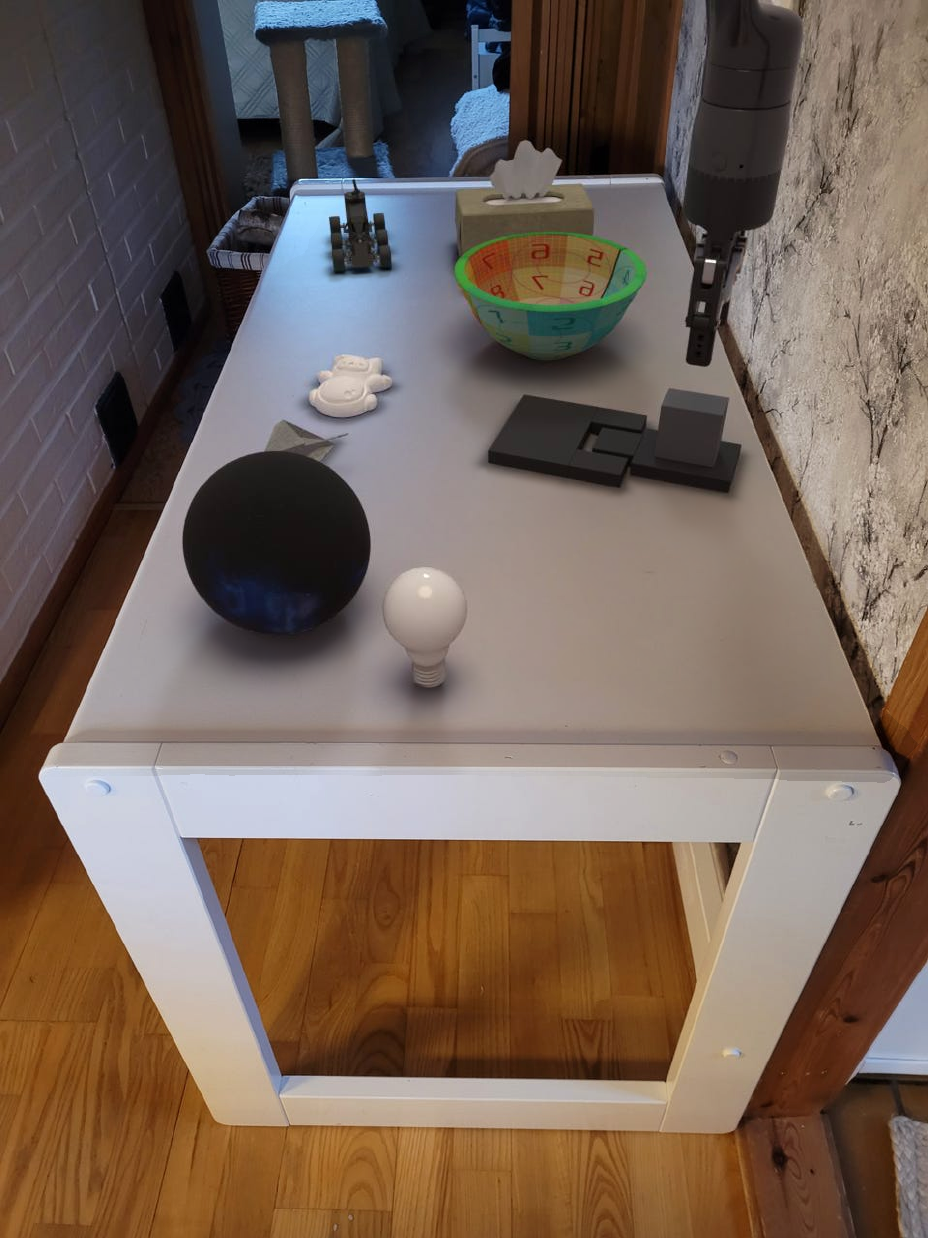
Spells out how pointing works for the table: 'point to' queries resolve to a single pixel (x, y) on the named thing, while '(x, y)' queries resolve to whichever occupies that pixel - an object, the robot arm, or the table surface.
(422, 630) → the lightbulb
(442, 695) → the table surface
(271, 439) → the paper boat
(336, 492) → the decorative sphere
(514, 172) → the tissue box
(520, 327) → the bowl
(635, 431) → the notch pad
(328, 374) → the white bear figurine
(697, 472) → the pad
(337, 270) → the toy vehicle
